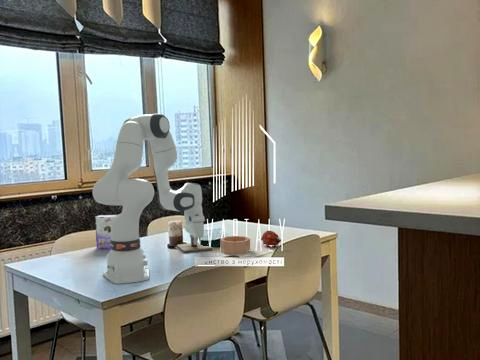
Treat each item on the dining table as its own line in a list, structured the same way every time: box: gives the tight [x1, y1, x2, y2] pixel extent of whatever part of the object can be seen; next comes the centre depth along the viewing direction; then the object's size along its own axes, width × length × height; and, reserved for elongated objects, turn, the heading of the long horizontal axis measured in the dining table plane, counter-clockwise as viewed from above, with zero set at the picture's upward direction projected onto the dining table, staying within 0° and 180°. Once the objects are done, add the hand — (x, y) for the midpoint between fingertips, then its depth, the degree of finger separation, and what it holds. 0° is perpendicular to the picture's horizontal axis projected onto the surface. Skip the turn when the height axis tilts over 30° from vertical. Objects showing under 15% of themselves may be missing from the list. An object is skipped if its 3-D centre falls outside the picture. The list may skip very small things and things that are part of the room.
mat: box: [174, 246, 215, 255], centre depth 241 cm, size 16×16×1 cm
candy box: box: [94, 214, 118, 250], centre depth 247 cm, size 14×6×16 cm, turn 84°
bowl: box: [219, 235, 251, 255], centre depth 236 cm, size 14×14×6 cm
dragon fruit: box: [260, 230, 282, 246], centre depth 245 cm, size 8×8×12 cm
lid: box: [176, 238, 213, 254], centre depth 241 cm, size 14×14×5 cm
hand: (194, 243), depth 241 cm, fingers closed on lid, 3 cm apart
